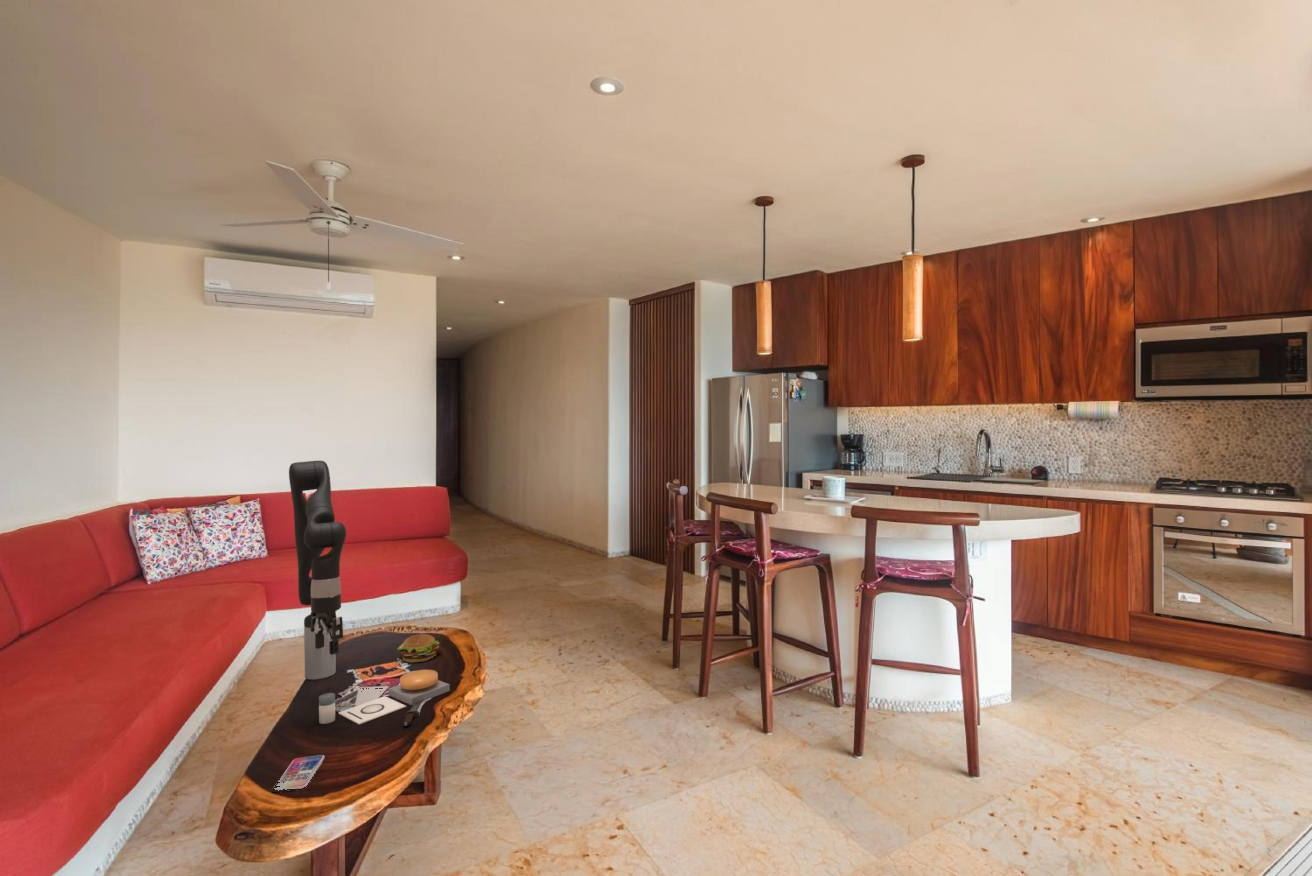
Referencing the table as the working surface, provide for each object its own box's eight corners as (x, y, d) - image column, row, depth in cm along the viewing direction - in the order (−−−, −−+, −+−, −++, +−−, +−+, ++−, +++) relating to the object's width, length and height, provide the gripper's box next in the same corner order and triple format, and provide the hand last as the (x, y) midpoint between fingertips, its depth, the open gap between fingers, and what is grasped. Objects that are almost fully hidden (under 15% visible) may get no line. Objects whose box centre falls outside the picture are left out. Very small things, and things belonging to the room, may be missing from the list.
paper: (338, 713, 178) (338, 712, 178) (384, 697, 189) (384, 695, 189) (359, 724, 170) (359, 723, 170) (405, 706, 182) (405, 705, 182)
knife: (436, 693, 194) (420, 695, 193) (436, 687, 194) (420, 688, 193) (418, 727, 168) (399, 728, 167) (418, 719, 168) (399, 721, 168)
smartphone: (269, 791, 137) (293, 758, 152) (269, 796, 137) (293, 762, 152) (306, 786, 139) (326, 753, 153) (306, 790, 139) (326, 757, 153)
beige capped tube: (316, 721, 173) (316, 696, 173) (331, 716, 176) (330, 691, 176) (323, 725, 171) (322, 700, 171) (337, 719, 174) (337, 695, 174)
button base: (388, 695, 190) (388, 688, 190) (426, 681, 201) (426, 675, 201) (411, 705, 182) (411, 698, 182) (449, 690, 193) (449, 684, 193)
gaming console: (364, 681, 201) (395, 680, 202) (364, 683, 201) (395, 682, 202) (332, 711, 179) (367, 709, 179) (332, 713, 179) (367, 712, 179)
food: (416, 649, 233) (415, 628, 233) (446, 653, 228) (446, 631, 228) (388, 662, 220) (388, 639, 220) (420, 666, 215) (420, 643, 215)
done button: (393, 684, 191) (392, 678, 191) (425, 673, 199) (425, 667, 199) (412, 692, 184) (412, 686, 184) (444, 681, 193) (444, 674, 193)
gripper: (300, 592, 175) (301, 649, 175) (324, 599, 166) (324, 659, 166) (327, 587, 181) (328, 642, 181) (351, 594, 172) (352, 652, 172)
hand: (326, 650), depth 174 cm, fingers open, 8 cm apart
